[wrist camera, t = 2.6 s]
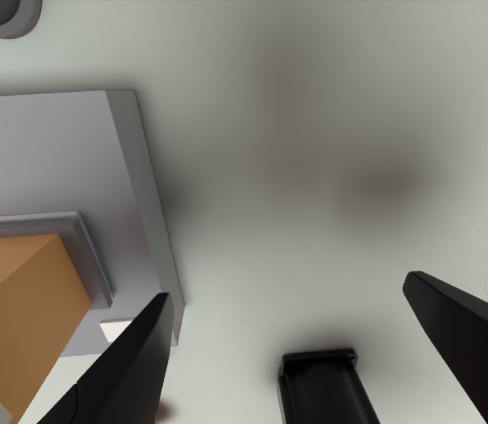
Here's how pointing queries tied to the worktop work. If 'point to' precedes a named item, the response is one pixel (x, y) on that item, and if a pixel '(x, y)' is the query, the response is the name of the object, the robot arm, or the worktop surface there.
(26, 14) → the cable post
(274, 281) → the worktop surface
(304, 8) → the worktop surface
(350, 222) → the worktop surface
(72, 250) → the block
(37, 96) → the panel
